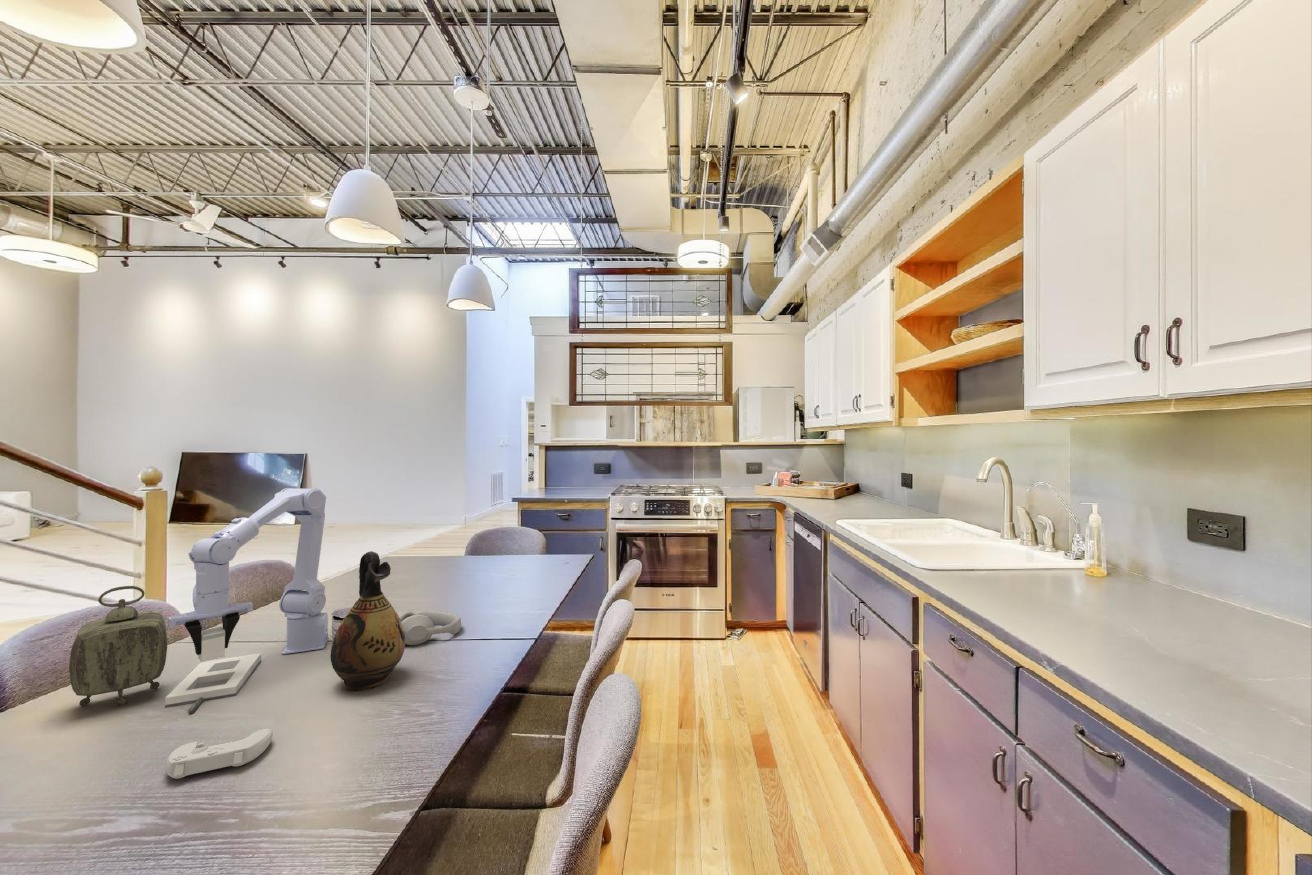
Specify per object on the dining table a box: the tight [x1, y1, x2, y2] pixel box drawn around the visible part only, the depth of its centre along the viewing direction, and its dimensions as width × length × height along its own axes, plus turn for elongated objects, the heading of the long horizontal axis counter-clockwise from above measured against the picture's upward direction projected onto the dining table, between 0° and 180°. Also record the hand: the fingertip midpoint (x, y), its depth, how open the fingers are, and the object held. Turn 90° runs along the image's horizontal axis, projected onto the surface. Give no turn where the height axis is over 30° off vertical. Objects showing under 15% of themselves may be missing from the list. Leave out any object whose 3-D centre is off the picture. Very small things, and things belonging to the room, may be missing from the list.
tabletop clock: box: [68, 585, 168, 707], centre depth 111 cm, size 14×9×25 cm, turn 134°
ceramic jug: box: [329, 550, 406, 692], centre depth 121 cm, size 17×15×30 cm
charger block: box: [197, 626, 226, 663], centre depth 117 cm, size 4×4×6 cm
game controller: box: [164, 728, 274, 780], centre depth 89 cm, size 14×4×10 cm
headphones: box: [396, 610, 462, 646], centre depth 149 cm, size 18×8×20 cm
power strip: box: [164, 653, 262, 714], centre depth 117 cm, size 12×26×2 cm, turn 25°
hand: (211, 650), depth 116 cm, fingers closed on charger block, 4 cm apart
